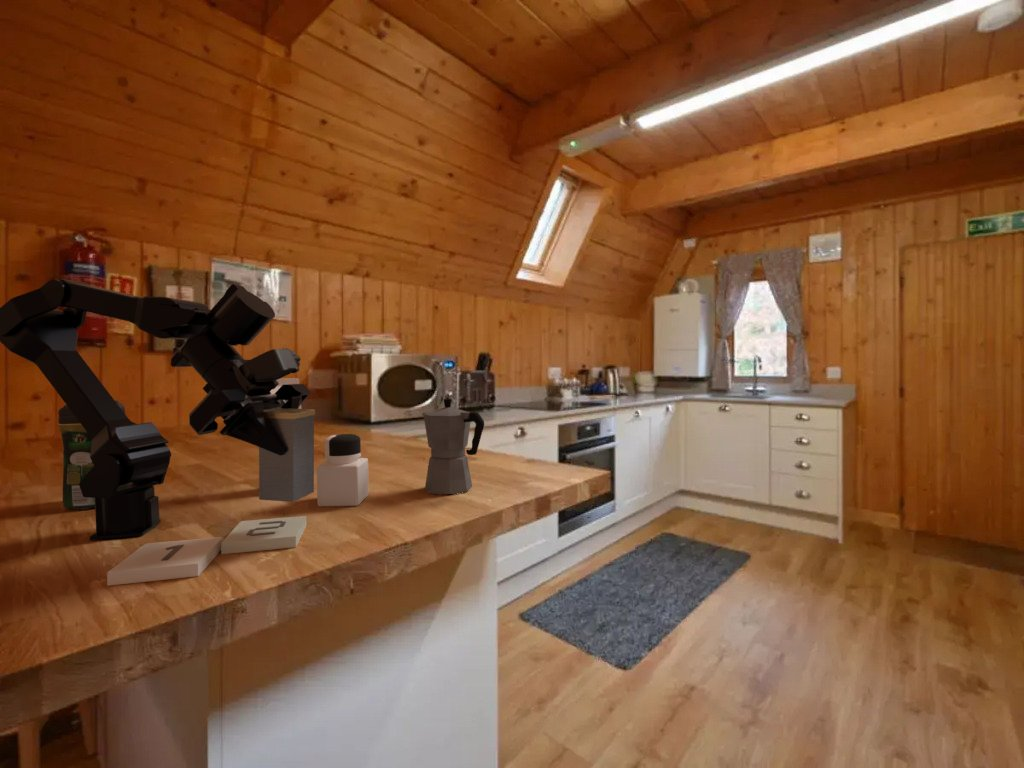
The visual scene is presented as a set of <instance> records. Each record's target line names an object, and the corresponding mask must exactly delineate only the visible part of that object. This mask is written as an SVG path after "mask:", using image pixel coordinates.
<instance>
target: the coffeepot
mask: <svg viewBox="0 0 1024 768" xmlns="http://www.w3.org/2000/svg"><path fill="white" fill-rule="evenodd" d="M452 401H453V399H452V398H450V397H445V398H444V399H443V403H444V407H442V408H439V409H434V410H430V411H425V412H422V416H423V421H424V427H425V433H426V440H427V445H428V448H430V457H429V460H428V466H427V470H426V471H427V473H426V478H425V485H424V490H425V491H426V492H427V491H428V492H430V493H429V494H431V493H433V494H432V495H436V494H456V495H458V494H457V493H461V494H463V493H462V492H465V493H467V492H466V491H468V490H469V489H470V488H471V489H472V487H473V483H472V477H471V471H470V466H469V460H468V456H467V455H469V456H473V455H474V456H475V455H477V453H478V451H479V450H478V449H479V446H480V441H481V438H482V434H483V432H484V427H485V420H484V419H483V418H482V416H481V414H480V413H479V412H478V411H477V412H476V411H466V410H463V409H459V408H455V407H451V406H452ZM472 422H474V424H475V426H474V432H473V438H472V440H471V448H470V449H466V448H467V447H468V443H469V437H470V436H469V435H470V431H471V430H470V429H471V423H472ZM466 454H467V455H466ZM471 489H470V490H471ZM470 490H469V491H470ZM469 491H468V492H469ZM428 492H427V493H428Z"/></svg>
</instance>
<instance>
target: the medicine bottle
mask: <svg viewBox="0 0 1024 768" xmlns="http://www.w3.org/2000/svg"><path fill="white" fill-rule="evenodd" d="M361 447H362V445H361V437H360V436H359V435H356V434H354V433H342V434H341V433H340V434H339V433H338V434H332V435H329V436H328V437H326V438H325V440H324V453H325V455H324V456H325V457H324V458H325V460H326V461H325V462H323V463H320V464H319V465H317V466H316V491H317V492H316V496H317V501H316V502H317V507H322V508H323V507H359V505H360V504H361V503H362V502H363V501H364V500H365V499H366V498H367V497H368V496H369V494H370V490H369V487H370V486H369V459H368V458H367V457H362V453H361V451H362V450H361Z"/></svg>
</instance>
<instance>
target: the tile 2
mask: <svg viewBox="0 0 1024 768" xmlns="http://www.w3.org/2000/svg"><path fill="white" fill-rule="evenodd" d="M306 527H307V515H303V516H302V515H300V516H288V517H277V518H276V517H275V518H263V519H252V520H242V521H241V520H240V521H239V523H238V524H237V525H236V526H235V527H234V528H233V529H232V530H231V531H230V533H228V535H227V536H225V538H223V541H222V543H221V551H220V553H221V555H231V554H239V553H249V552H261V551H269V550H282V549H292V548H297V546H298V544H299V542H300V539H301V538H302V536H303V533H305V530H306Z"/></svg>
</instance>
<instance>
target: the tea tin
mask: <svg viewBox="0 0 1024 768" xmlns="http://www.w3.org/2000/svg"><path fill="white" fill-rule="evenodd" d="M315 415H316V410H315V409H314V408H313V409H312V408H311V409H310V408H309V409H308V408H301V409H290V408H279V409H273V410H266V411H264V417H265V419H266V420H267V422H268V423H269V424H270V426H271V427H272V428H273V430H274V431H275V432H276V434H277V435H278V436H279V438H280V439H281V441H282V442H283V444H284V445H285V447H286V448H287V452H286V453H285V454H284V455H281V456H280V455H278V454H275V453H273V452H270V451H268V450H265V449H263V448H260V447H258V481H259V482H258V487H259V488H258V497H259V498H258V499H259V500H260V501H272V502H274V501H276V502H289V503H294V502H296V501H299V500H300V499H302V498H305V497H306V496H308V495H310V494H313V493H315V488H314V487H315V465H314V463H315V439H314V438H315V435H314V434H315Z"/></svg>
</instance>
